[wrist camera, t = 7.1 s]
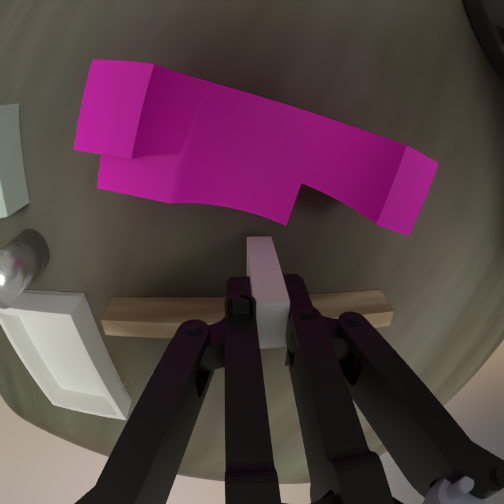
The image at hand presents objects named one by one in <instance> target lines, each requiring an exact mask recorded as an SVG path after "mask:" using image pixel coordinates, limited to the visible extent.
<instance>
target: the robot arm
mask: <svg viewBox="0 0 504 504" xmlns="http://www.w3.org/2000/svg"><path fill="white" fill-rule="evenodd" d="M464 3H465V6H466V9H467V12H468V15H469V17H470V20H471V22H472V25H473V27H474V30H475V32H476V34H477V36H478V38H479V40H480V42H481V44H482V46H483V48H484V50H485V52H486V54H487V56H488V57H489V59H490V61H491V63H492V64H493V66H494V67H495V69H496V70H497V72H498V73H499V75H500V76H501V77H502V79H503V80H504V0H464ZM224 305H225V317H224V318H223V319H222V320H221V321H219V322H217V323H214V324H210V325H208V324H207V323H206V322H204V321H202V320H199V319H192V320H187V321H185V322H183V323H182V324H181V325H180V326H179V327H178V329H177V331H176V333H175V334H174V336H173V338H172V340H171V342H170V343H169V345H168V347H167V349H166V351H165V352H164V354H163V356H162V358H161V360H160V362H159V363H158V365H157V367H156V369H155V371H154V373H153V374H152V376H151V378H150V380H149V382H148V384H147V386H146V387H145V389H144V391H143V393H142V395H141V397H140V399H139V401H138V402H137V404H136V406H135V408H134V410H133V412H132V414H131V416H130V418H129V420H128V422H127V423H126V425H125V427H124V429H123V431H122V433H121V435H120V437H119V439H118V441H117V443H116V445H115V447H114V449H113V451H112V453H111V455H110V457H109V459H108V461H107V463H106V465H105V467H104V469H103V471H102V473H101V475H100V477H99V479H98V481H97V483H96V485H95V486H94V487H93V488H92V489H91V490H90V491H89V492H87V493H86V494H85V495H84V496H83V497H82V498H81V499H79V500H78V501H77V502H76V503H75V504H166V502H167V499H168V496H169V494H170V491H171V488H172V485H173V483H174V480H175V477H176V475H177V472H178V469H179V466H180V464H181V461H182V458H183V456H184V453H185V450H186V447H187V445H188V442H189V439H190V436H191V434H192V431H193V428H194V425H195V423H196V420H197V417H198V415H199V412H200V409H201V406H202V404H203V401H204V398H205V395H206V393H207V390H208V387H209V384H210V381H211V379H212V376H213V373H214V369H218V368H221V367H225V452H226V471H225V502H226V504H285V503H281V499H280V490H279V483H278V476H277V472H276V469H275V467H274V461H273V453H272V445H271V436H270V428H269V420H268V412H267V403H266V395H265V387H264V378H263V370H262V362H261V353H260V349H262V348H280V347H285V344H286V343H287V354H286V362H285V366H288V365H289V370H290V375H291V380H292V385H293V390H294V396H295V401H296V406H297V411H298V416H299V421H300V427H301V432H302V437H303V443H304V448H305V453H306V459H307V464H308V469H309V475H310V481H311V487H310V498H311V504H403V503H401V502H400V501H398V500H397V499H395V498H394V497H392V495H391V491H390V488H389V485H388V481H387V478H386V475H385V472H384V469H383V465H382V462H381V460H380V458H379V456H378V455H377V453H375V452H372V451H370V450H369V448H368V446H367V442H366V439H365V436H364V433H363V430H362V427H361V424H360V421H359V418H358V415H357V412H356V409H355V406H354V403H353V400H354V402H355V403H356V404H357V406H358V407H359V409H360V410H361V412H362V413H363V415H364V416H365V418H366V419H367V421H368V422H369V424H370V425H371V427H372V428H373V430H374V431H375V433H376V434H377V436H378V437H379V439H380V440H381V442H382V443H383V445H384V446H385V448H386V449H387V451H388V452H389V454H390V455H391V457H392V458H393V459H394V461H395V463H396V464H397V465H398V467H399V468H400V470H401V471H402V473H403V474H404V476H405V477H406V479H407V480H408V481H409V483H410V484H411V485H412V486H413V488H415V489H416V490H417V491H418V492H419V493H420V494H421V495H422V496H424V497H425V500H424V502H423V504H484V503H485V501H486V499H487V498H488V497H490V496H492V495H493V494H495V493H497V492H498V491H500V490H501V489H502V488H504V460H502V459H500V458H499V457H497V456H495V455H494V454H491V453H490V452H489V451H487V450H485V449H483V448H482V447H480V446H479V445H477V444H475V443H474V442H472V441H471V440H470V439H469V437H468V436H467V435H466V434H465V432H464V431H463V430H462V429H461V427H460V426H459V425H458V424H457V423H456V421H455V420H454V419H453V418H452V417H451V415H450V414H449V413H448V412H447V410H446V409H445V408H444V407H443V406H442V404H441V403H440V402H439V401H438V400H437V398H436V397H435V396H434V395H433V394H432V392H431V391H430V390H429V389H428V388H427V387H426V385H425V384H424V383H423V382H422V381H421V380H420V378H419V377H418V376H417V375H416V374H415V373H414V372H413V370H412V369H411V368H410V367H409V366H408V365H407V364H406V362H405V361H404V360H403V359H402V358H401V357H400V356H399V355H398V353H397V352H396V351H395V350H394V349H393V348H392V347H391V346H390V344H389V343H388V342H387V341H386V340H385V339H384V338H383V337H382V336H381V335H380V333H379V332H378V331H377V330H376V329H375V328H374V327H373V326H372V325H371V324H370V322H369V321H368V320H367V319H366V318H365V317H364V316H362V315H361V314H359V313H357V312H352V311H348V312H344V313H342V314H341V315H340V316H339V318H338V319H335V318H329V317H325V316H322V315H321V313H320V312H319V310H318V309H316V308H315V307H313V305H312V302H311V300H310V297H309V294H308V292H307V289H306V286H305V284H304V281H303V279H302V278H301V277H300V276H299V275H297V274H288V275H282V271H281V268H280V264H279V261H278V258H277V254H276V251H275V247H274V244H273V240H272V237H271V236H264V237H247V276H244V277H230V279H229V280H228V281H227V295H226V299H225V302H224ZM352 399H353V400H352Z"/></svg>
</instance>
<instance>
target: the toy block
mask: <svg viewBox="0 0 504 504" xmlns="http://www.w3.org/2000/svg"><path fill="white" fill-rule="evenodd" d="M74 150H78V151H85V152H91V153H98V154H101V160H100V167H99V175H98V184H97V188H99V189H104V190H109V191H114V192H118V193H123V194H128V195H132V196H137V197H142V198H146V199H151V200H155V201H160V202H164V203H169V204H172V203H199V204H209V205H217V206H223V207H228V208H233V209H238V210H242V211H246V212H249V213H253V214H256V215H259V216H262V217H265V218H268V219H271V220H273V221H276V222H278V223H281V224H283V225H287V223H288V220H289V217H290V214H291V211H292V208H293V206H294V203H295V200H296V197H297V194H298V191H299V189H300V186H301V183H302V184H304V185H307V186H309V187H312V188H314V189H316V190H318V191H321V192H323V193H325V194H327V195H329V196H331V197H333V198H335V199H337V200H339V201H341V202H342V203H344V204H346V205H348V206H349V207H351V208H353V209H354V210H356V211H358V212H359V213H361V214H362V215H364V216H365V217H367V218H368V219H369V220H371V221H372V222H373V223H375V224H376V225H379V226H381V227H384V228H387V229H390V230H393V231H396V232H398V233H401V234H404V235H407V236H409V234H410V232H411V230H412V228H413V226H414V223H415V221H416V219H417V217H418V214H419V212H420V210H421V207H422V205H423V203H424V200H425V198H426V195H427V193H428V190H429V188H430V185H431V182H432V180H433V177H434V174H435V172H436V169H437V166H438V163H437V162H435V161H434V160H432V159H430V158H429V157H427V156H425V155H424V154H422V153H420V152H418V151H417V150H415V149H413V148H411V147H409V146H408V145H405V144H402V143H399V142H396V141H393V140H390V139H387V138H384V137H381V136H378V135H376V134H373V133H370V132H367V131H364V130H361V129H358V128H355V127H352V126H350V125H347V124H344V123H341V122H338V121H335V120H332V119H329V118H326V117H323V116H320V115H317V114H314V113H311V112H308V111H305V110H302V109H299V108H296V107H292V106H289V105H286V104H283V103H280V102H276V101H273V100H270V99H267V98H263V97H260V96H257V95H253V94H250V93H247V92H243V91H240V90H236V89H233V88H229V87H226V86H222V85H219V84H216V83H212V82H209V81H205V80H202V79H198V78H195V77H191V76H188V75H185V74H181V73H178V72H175V71H172V70H169V69H166V68H163V67H161V66H158V65H156V64H151V63H142V62H131V61H117V60H92V63H91V67H90V70H89V74H88V78H87V82H86V86H85V90H84V94H83V99H82V104H81V109H80V114H79V119H78V125H77V131H76V138H75V145H74Z"/></svg>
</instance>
